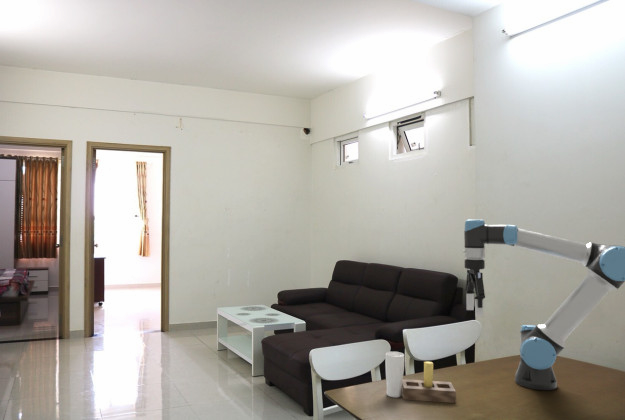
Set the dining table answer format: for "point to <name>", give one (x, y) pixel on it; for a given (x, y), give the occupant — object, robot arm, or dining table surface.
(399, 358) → the drinking glass
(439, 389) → the hole block
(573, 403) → the dining table surface
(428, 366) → the peg
